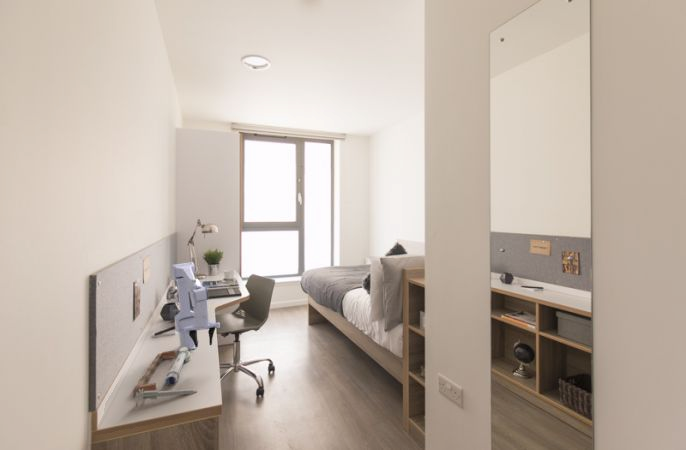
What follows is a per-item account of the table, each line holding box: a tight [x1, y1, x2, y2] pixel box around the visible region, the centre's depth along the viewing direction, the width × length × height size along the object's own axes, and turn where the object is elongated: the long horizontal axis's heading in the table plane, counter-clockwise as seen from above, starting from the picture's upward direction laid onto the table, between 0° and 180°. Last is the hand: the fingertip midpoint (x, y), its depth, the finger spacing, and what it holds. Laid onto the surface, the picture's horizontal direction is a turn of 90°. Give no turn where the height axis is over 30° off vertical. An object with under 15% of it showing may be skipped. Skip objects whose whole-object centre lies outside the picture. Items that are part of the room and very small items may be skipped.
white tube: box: [165, 347, 191, 386], centre depth 147 cm, size 5×7×25 cm
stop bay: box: [133, 349, 177, 397], centre depth 145 cm, size 32×8×3 cm, turn 14°
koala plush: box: [172, 290, 194, 320], centre depth 214 cm, size 17×18×20 cm
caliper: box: [134, 388, 198, 407], centre depth 125 cm, size 20×1×6 cm, turn 112°
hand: (203, 345), depth 149 cm, fingers open, 5 cm apart
